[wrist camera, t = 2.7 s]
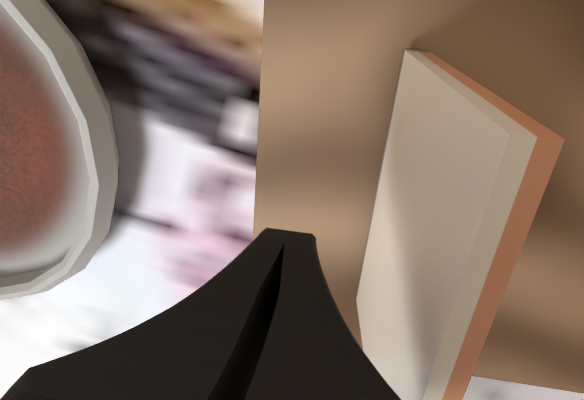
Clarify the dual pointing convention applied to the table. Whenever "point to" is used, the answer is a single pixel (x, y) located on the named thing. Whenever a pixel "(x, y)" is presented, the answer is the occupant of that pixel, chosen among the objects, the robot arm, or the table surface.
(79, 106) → the frying pan
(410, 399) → the tile
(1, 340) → the table surface
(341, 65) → the board
